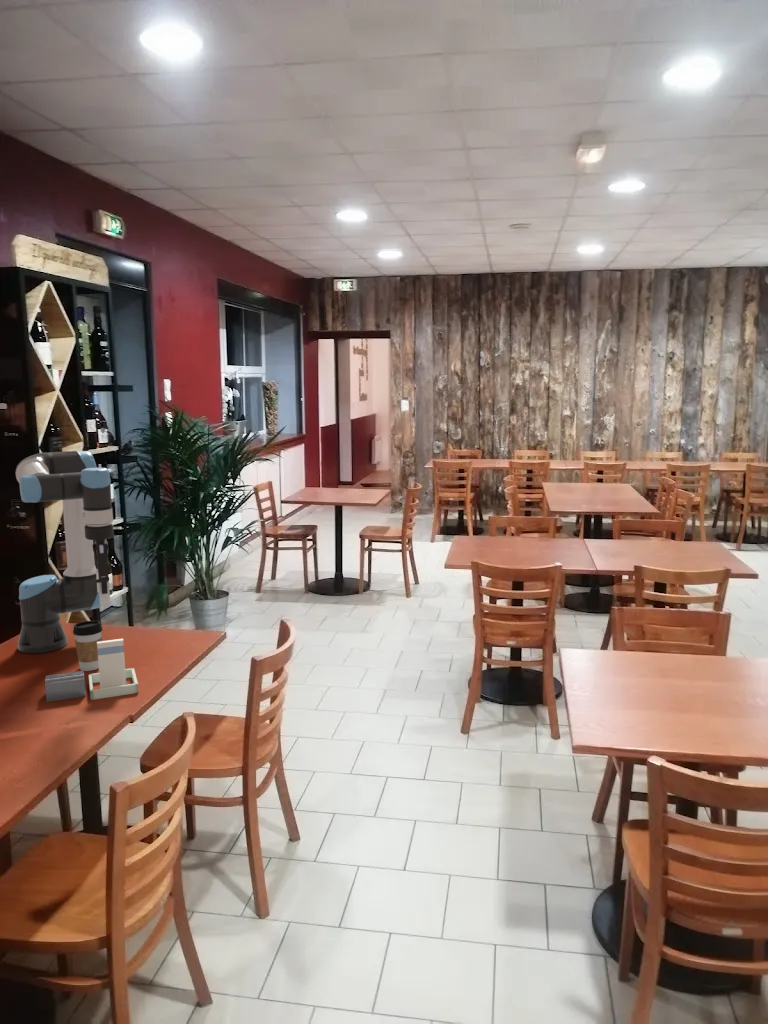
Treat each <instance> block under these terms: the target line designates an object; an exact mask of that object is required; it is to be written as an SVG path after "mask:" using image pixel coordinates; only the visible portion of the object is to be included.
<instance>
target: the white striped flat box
mask: <svg viewBox="0 0 768 1024" xmlns="http://www.w3.org/2000/svg"><path fill="white" fill-rule="evenodd" d="M124 643H125V642H124V638H117V639H109V640H108V639H107V640H102V641H99V642H97V650H98V664H99V668H98V673H99V677H100V682H99V687H100V688H99V689H101V688H108V687H114V686H121V685H127V678H126V671H125V669H126V659H125V644H124Z"/></svg>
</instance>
